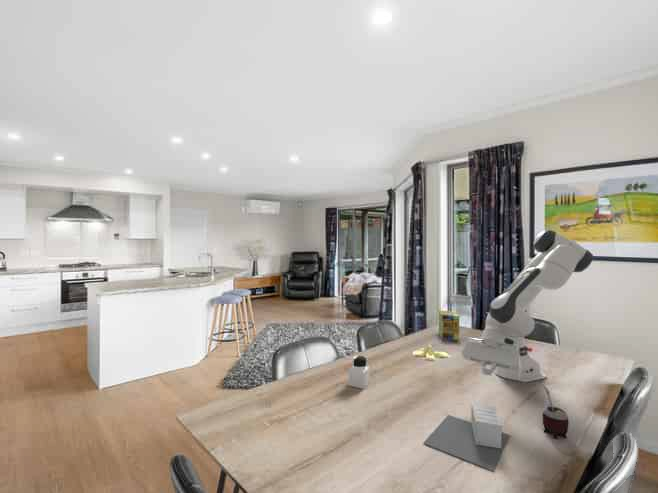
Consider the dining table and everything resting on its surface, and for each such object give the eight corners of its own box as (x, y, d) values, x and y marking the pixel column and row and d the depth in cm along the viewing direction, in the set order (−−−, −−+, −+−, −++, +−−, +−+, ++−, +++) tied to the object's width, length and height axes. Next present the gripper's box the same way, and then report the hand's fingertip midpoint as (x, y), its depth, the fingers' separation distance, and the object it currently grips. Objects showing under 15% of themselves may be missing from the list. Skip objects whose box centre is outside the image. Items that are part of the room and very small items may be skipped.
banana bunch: (455, 357, 185) (455, 346, 185) (436, 364, 173) (436, 352, 173) (420, 347, 202) (420, 336, 202) (401, 353, 190) (401, 342, 190)
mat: (448, 415, 122) (448, 414, 122) (510, 435, 109) (510, 435, 109) (423, 443, 104) (423, 442, 104) (493, 471, 92) (493, 470, 92)
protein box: (442, 339, 217) (442, 315, 217) (438, 332, 233) (438, 310, 232) (459, 340, 216) (459, 315, 215) (454, 333, 231) (454, 311, 231)
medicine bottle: (369, 382, 149) (369, 355, 149) (364, 389, 143) (364, 360, 143) (354, 379, 152) (354, 353, 152) (348, 386, 146) (348, 358, 146)
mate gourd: (568, 443, 106) (569, 395, 105) (539, 435, 110) (540, 389, 109) (567, 431, 112) (568, 386, 112) (539, 424, 116) (540, 381, 116)
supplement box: (494, 427, 113) (501, 449, 101) (470, 423, 116) (474, 445, 104) (495, 405, 113) (502, 425, 101) (471, 402, 116) (475, 421, 103)
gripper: (464, 332, 138) (456, 363, 130) (521, 342, 125) (516, 377, 118) (467, 341, 141) (459, 371, 134) (523, 351, 129) (518, 385, 121)
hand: (486, 374), depth 126 cm, fingers closed
